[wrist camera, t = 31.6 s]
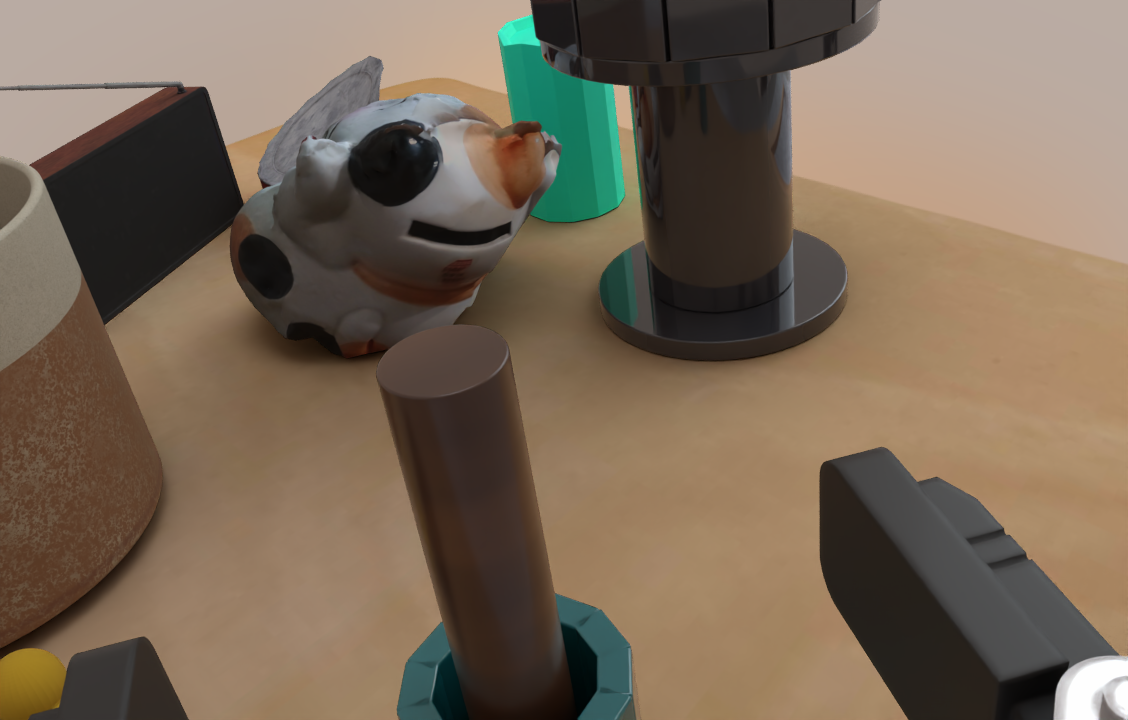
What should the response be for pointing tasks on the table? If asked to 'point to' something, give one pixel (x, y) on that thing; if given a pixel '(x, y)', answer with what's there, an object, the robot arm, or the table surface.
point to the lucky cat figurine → (389, 221)
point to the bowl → (711, 165)
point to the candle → (565, 127)
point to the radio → (141, 190)
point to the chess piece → (30, 683)
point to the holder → (593, 660)
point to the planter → (60, 421)
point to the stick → (478, 519)
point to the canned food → (320, 116)
